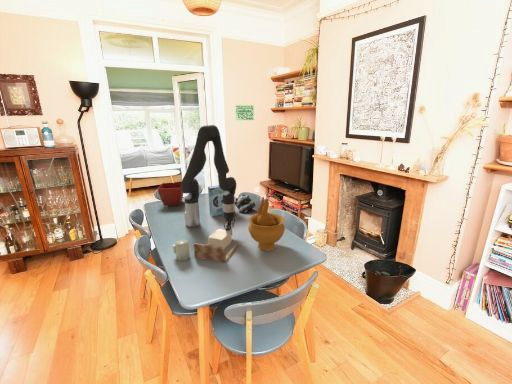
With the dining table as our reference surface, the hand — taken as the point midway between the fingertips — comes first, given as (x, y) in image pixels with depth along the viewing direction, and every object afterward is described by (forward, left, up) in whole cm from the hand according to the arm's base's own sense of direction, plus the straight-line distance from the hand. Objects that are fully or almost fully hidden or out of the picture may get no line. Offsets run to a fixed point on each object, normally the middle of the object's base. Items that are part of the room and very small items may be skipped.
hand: (230, 235), depth 162 cm
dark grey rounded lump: (-8, +48, -2) cm, 49 cm away
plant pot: (-74, +45, -2) cm, 87 cm away
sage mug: (-15, -29, -2) cm, 33 cm away
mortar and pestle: (+25, -3, -2) cm, 25 cm away
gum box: (-23, +37, -2) cm, 44 cm away
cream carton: (-2, -9, -2) cm, 10 cm away
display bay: (0, -18, -2) cm, 18 cm away
